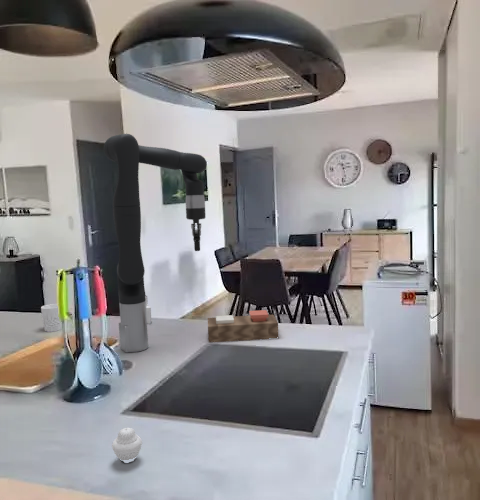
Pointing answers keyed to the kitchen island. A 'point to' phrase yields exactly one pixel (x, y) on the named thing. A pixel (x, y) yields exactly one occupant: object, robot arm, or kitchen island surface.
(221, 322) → the white block
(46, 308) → the white cup
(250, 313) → the red square flowerpot
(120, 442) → the muffin
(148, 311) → the medicine bottle
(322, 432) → the kitchen island surface
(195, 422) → the kitchen island surface
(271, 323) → the button box
